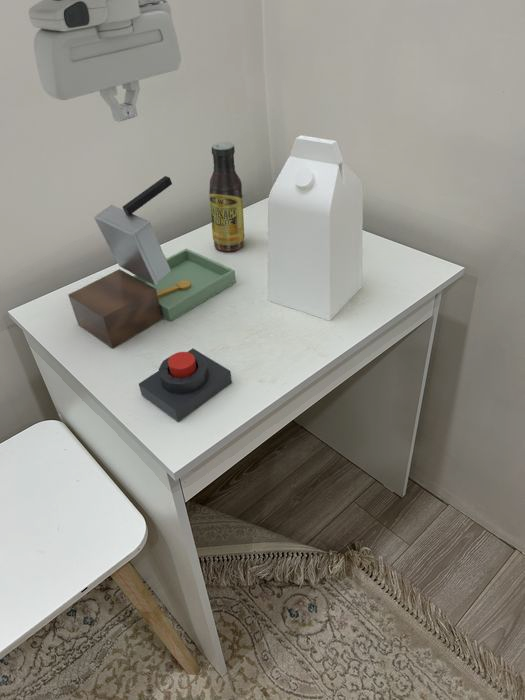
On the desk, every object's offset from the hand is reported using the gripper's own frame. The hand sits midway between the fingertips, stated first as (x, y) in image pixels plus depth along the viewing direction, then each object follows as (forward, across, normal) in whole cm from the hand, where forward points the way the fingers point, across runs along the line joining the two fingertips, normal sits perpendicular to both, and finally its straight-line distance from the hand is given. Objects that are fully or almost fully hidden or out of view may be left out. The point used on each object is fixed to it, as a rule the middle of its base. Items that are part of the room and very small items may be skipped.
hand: (125, 118), depth 76 cm
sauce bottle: (+30, -21, -4) cm, 37 cm away
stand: (+30, +9, 0) cm, 31 cm away
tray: (+30, -4, 0) cm, 30 cm away
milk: (+30, -18, +20) cm, 40 cm away
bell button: (+26, +13, +21) cm, 36 cm away
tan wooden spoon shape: (+29, -2, 0) cm, 29 cm away
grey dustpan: (+18, +5, 0) cm, 19 cm away
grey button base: (+30, +12, +21) cm, 39 cm away
